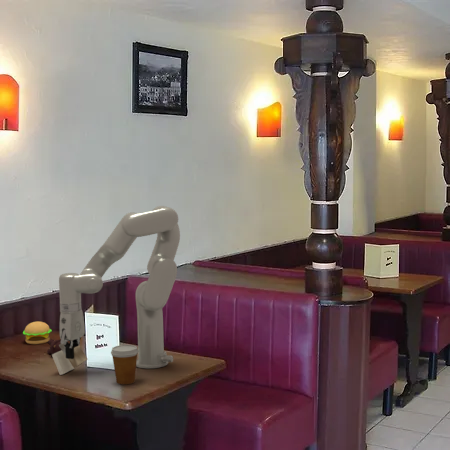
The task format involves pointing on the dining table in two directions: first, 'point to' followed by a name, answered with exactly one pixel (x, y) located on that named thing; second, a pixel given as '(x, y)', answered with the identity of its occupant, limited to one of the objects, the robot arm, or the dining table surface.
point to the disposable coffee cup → (125, 363)
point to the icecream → (54, 346)
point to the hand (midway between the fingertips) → (72, 356)
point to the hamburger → (37, 333)
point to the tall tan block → (76, 356)
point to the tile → (62, 362)
